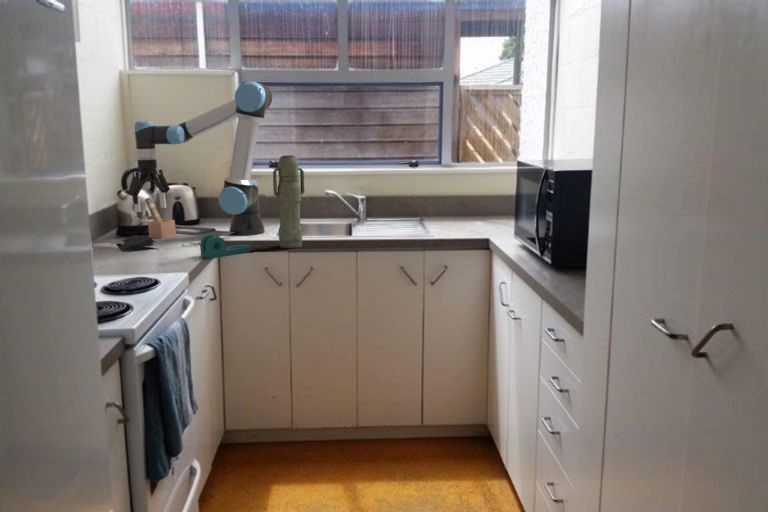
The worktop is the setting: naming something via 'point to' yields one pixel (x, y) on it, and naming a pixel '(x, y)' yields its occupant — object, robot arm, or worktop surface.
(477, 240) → the worktop surface
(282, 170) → the thermos
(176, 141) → the robot arm
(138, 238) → the dark slate chunk
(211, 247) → the bracket
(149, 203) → the beech stick
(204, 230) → the charcoal tray
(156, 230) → the orange open cube box
